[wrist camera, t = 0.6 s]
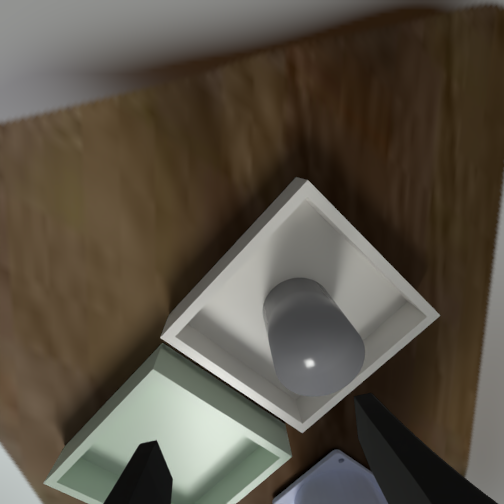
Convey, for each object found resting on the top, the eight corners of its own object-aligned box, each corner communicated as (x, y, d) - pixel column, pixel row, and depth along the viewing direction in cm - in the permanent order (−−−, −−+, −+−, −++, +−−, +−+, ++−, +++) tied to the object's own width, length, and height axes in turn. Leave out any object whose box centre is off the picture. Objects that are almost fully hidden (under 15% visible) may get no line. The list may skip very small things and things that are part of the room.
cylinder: (344, 305, 19) (383, 354, 14) (296, 350, 20) (317, 410, 15) (297, 263, 18) (322, 301, 13) (248, 313, 19) (254, 365, 14)
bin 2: (414, 296, 20) (440, 315, 17) (294, 402, 22) (302, 433, 20) (296, 176, 17) (308, 180, 14) (168, 314, 19) (160, 337, 16)
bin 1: (285, 424, 23) (292, 456, 20) (189, 508, 25) (184, 546, 22) (162, 342, 19) (153, 369, 17) (64, 446, 22) (43, 483, 19)
